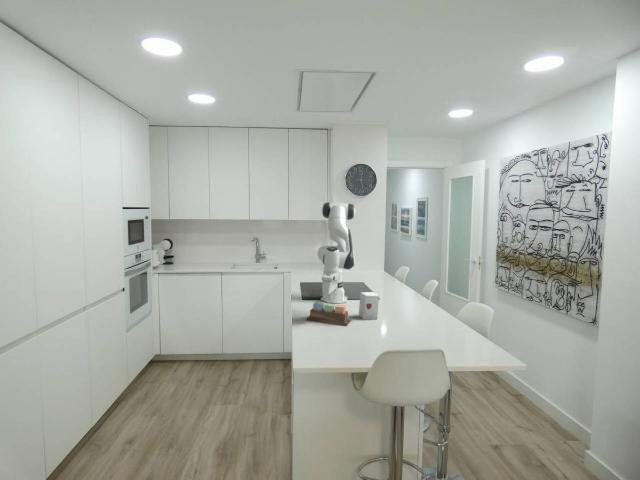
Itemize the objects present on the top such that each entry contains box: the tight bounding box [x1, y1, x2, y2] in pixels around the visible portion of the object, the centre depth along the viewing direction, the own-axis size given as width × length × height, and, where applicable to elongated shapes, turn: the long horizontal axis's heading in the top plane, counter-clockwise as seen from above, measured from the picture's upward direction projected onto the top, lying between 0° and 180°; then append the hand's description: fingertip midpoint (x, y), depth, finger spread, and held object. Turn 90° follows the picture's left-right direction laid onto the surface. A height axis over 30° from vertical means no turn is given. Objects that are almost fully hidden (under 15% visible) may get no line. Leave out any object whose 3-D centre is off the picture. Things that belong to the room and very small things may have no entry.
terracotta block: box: [335, 304, 347, 314], centre depth 228 cm, size 5×5×5 cm
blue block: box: [312, 301, 325, 311], centre depth 232 cm, size 5×5×5 cm
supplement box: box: [358, 291, 380, 321], centre depth 241 cm, size 9×9×15 cm
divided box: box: [305, 307, 352, 327], centre depth 230 cm, size 10×24×6 cm, turn 73°
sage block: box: [324, 302, 336, 313], centre depth 230 cm, size 5×5×5 cm
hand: (329, 299), depth 229 cm, fingers closed
